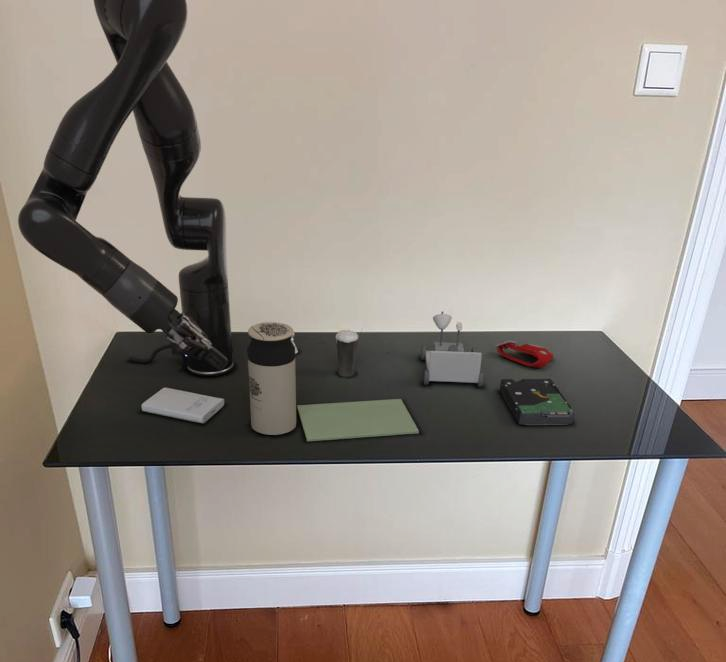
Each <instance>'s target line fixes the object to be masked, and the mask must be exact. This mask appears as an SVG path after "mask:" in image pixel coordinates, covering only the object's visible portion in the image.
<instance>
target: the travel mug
mask: <svg viewBox="0 0 726 662" xmlns="http://www.w3.org/2000/svg"><path fill="white" fill-rule="evenodd" d="M293 331H294V328H293V327H292V326H290V325H288V324H286V323H283V322H277V321H276V322H275V321H265V322H260V323H256V324H253V325H251V326H250V327H249V328H248V330H247V335H249V338H250V341H249V343H248V346H247V348H246V349H247V350H246V351H247V368H248V369H247V370H248V387H249V388H248V389H249V406H250V407H249V409H250V425H251V428H252V430H254V431H255V432H257V433H260V434H263V435H267V436H279V435H284V434H287V433H289V432H291V431H293V430H294V429H295V428H296V427H297V379H296V378H297V377H296V376H297V375H296V354H295V347H294V345H293V343H292V341H291V336H292V334H293Z"/></svg>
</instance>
